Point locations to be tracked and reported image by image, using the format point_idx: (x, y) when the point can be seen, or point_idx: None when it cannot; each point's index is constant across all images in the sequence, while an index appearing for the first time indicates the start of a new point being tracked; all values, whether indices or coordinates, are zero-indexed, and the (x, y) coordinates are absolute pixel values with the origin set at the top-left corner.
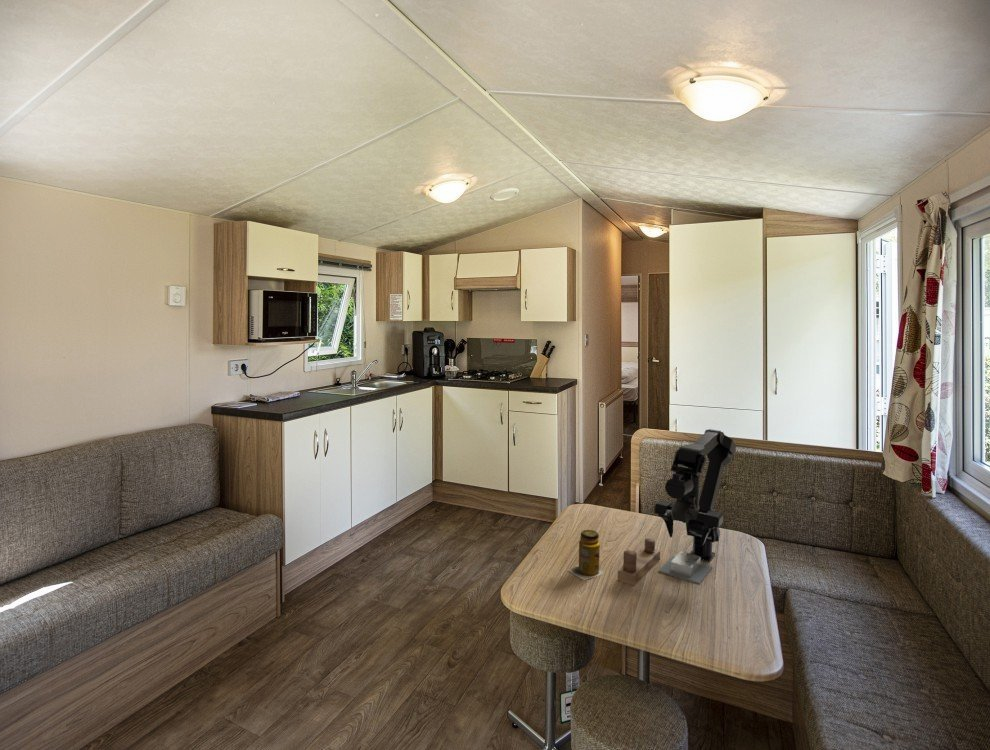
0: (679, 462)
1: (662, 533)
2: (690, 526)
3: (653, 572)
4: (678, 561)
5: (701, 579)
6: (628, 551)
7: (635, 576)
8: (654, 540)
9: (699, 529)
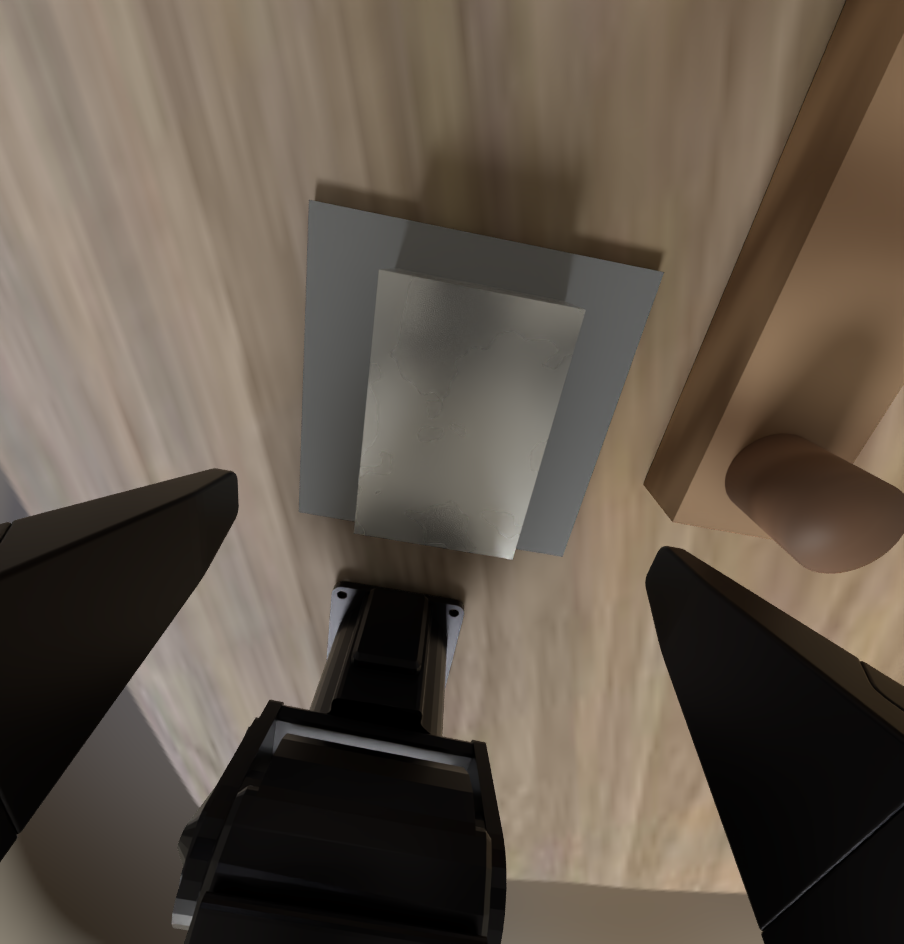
0: None
1: (627, 778)
2: (450, 823)
3: (700, 243)
4: (512, 355)
5: (313, 275)
6: None
7: None
8: (793, 547)
9: (349, 798)
